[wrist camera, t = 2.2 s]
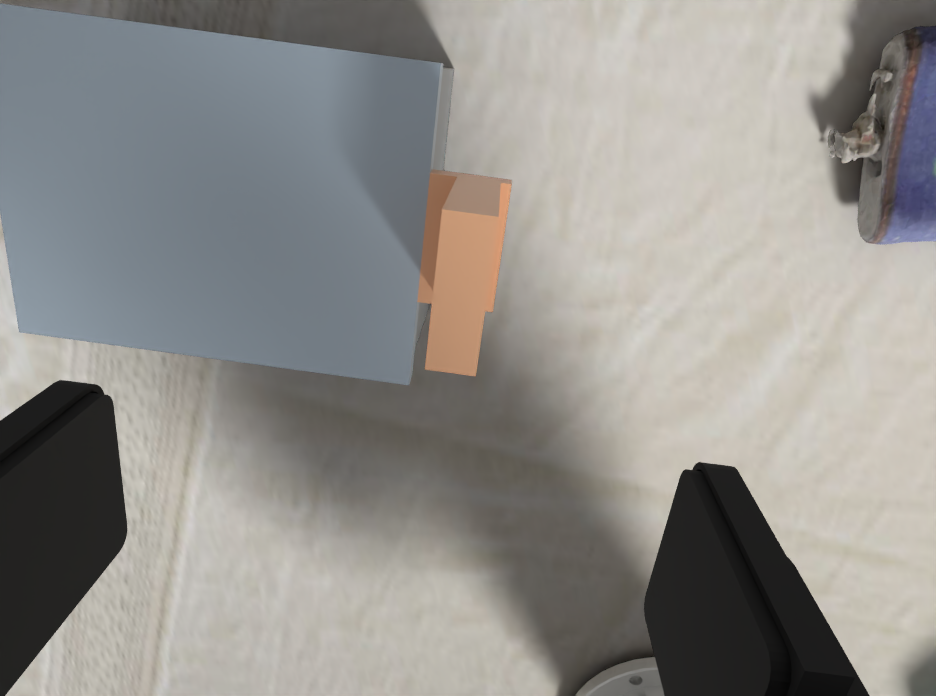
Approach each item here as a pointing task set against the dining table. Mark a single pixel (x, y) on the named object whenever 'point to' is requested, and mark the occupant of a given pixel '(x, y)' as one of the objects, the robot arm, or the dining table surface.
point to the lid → (237, 199)
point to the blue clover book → (897, 143)
